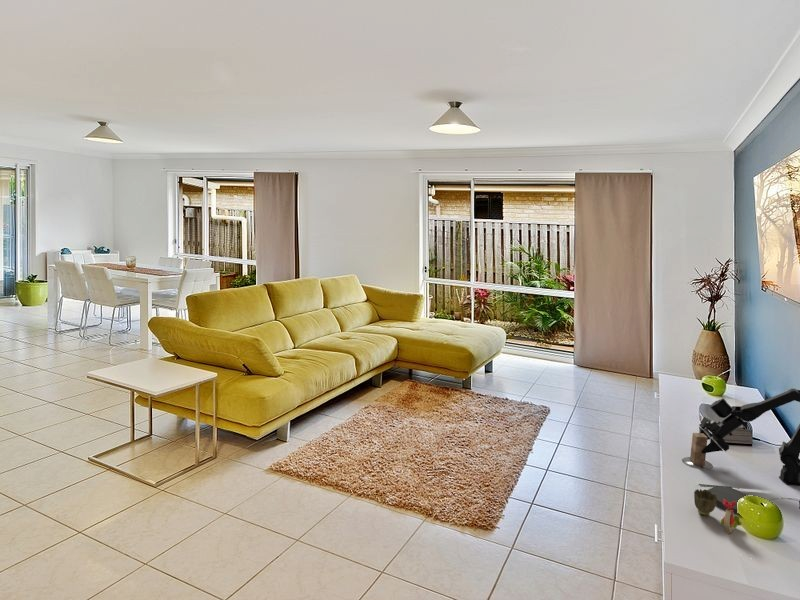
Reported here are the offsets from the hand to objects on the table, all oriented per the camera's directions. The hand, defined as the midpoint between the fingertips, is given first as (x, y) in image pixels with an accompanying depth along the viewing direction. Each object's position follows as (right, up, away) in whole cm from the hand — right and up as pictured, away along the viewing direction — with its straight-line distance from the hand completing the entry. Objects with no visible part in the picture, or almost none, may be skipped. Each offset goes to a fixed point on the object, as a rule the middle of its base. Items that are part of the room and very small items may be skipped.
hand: (697, 448), depth 232 cm
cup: (-19, -14, -38) cm, 45 cm away
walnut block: (0, -7, +1) cm, 7 cm away
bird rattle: (-16, -15, -47) cm, 52 cm away
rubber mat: (-2, -10, -14) cm, 17 cm away
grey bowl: (0, -8, +1) cm, 8 cm away
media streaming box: (-4, -13, -29) cm, 32 cm away
